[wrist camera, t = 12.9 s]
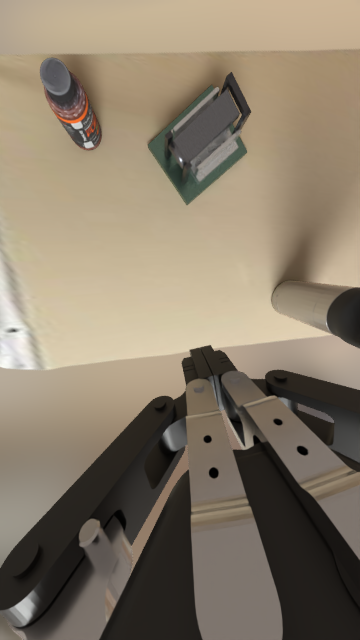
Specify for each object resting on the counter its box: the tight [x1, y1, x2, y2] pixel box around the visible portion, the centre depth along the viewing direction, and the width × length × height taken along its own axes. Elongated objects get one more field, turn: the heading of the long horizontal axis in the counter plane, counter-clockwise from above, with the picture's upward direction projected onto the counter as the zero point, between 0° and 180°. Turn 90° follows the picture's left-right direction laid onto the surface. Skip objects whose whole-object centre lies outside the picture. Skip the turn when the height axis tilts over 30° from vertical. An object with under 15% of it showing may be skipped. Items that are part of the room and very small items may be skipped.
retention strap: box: [168, 89, 239, 169], centre depth 33 cm, size 1×4×13 cm
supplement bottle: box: [40, 58, 101, 150], centre depth 31 cm, size 6×6×11 cm
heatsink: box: [148, 72, 251, 205], centre depth 35 cm, size 16×13×8 cm
